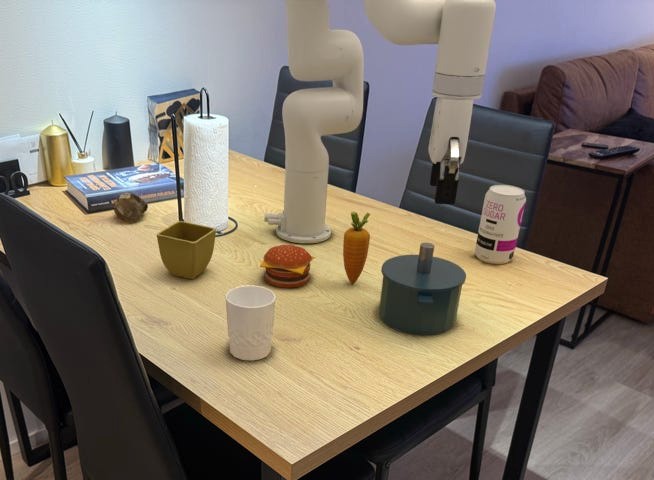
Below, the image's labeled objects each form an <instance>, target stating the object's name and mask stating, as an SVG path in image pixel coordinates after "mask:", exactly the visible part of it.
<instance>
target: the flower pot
mask: <svg viewBox="0 0 654 480" xmlns="http://www.w3.org/2000/svg"><path fill="white" fill-rule="evenodd" d="M216 233H217V228H215V227H211V226H207V225H203V224H198V223H193V222H188V221H182V220H178V221H176V222H174V223H172V224H171V225H169V226H168V227H166V228H164V229H162V230H160V231H159V232H157V233H156V239H157V245H158V250H159V255H160V259H161V261H162V264H163V265H164V267H165V269H166V270H167V271H168V273H170V275H173V276H176V277H180V278H185V279H189V280H194V279H195V278H197V277H198V276H199V275H201V274H202V273H203V272H205V270H206V269H207V267H208V266H209V264H210V262H211V259H212V257H213V255H214V254H213V253H214V249H215V241H216Z"/></svg>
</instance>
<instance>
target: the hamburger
mask: <svg viewBox="0 0 654 480" xmlns="http://www.w3.org/2000/svg"><path fill="white" fill-rule="evenodd" d="M314 259H316V256H313V255H311V254H310V253H309V252H308V251H307V249H306V248H304V247H302V246H300V245H299V246H298V245H295V244H279V245H275V246H273V247H270V248H269V249H268V250H267V251H266V252H265V253H264V255H263V259H262V261H261V263H260V265H259V268H264V269H265V272H264V275H263V276H264V279H265V280H266V282H267V283H268V284H270V285H271V286H273V287H278V288H284V289H285V288H286V289H291V288H299V287H302V286H305V285H307V283H309V282H310V278H311V276H310V275H311V274H310V271H311V262H312V261H313V260H314Z"/></svg>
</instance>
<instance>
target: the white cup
mask: <svg viewBox="0 0 654 480" xmlns="http://www.w3.org/2000/svg"><path fill="white" fill-rule="evenodd" d="M276 299H277V296H276V293H275V292H274V291H273V290H271V289H269V288H268V287H264V286H258V285H248V284H247V285H239V286H236V287H233V288H231V289H229V290H228V291H227V292H226V293H225V309H226V323H227V337H228V341H229V353H230V354H231V355H232V356H233V357H234V358H237V359H239V360H242V361H250V362H252V361H259V360H262V359H264V358H267V357H268V355H269V354H270V353H271V348H272V338H273V333H274V323H275V310H276Z"/></svg>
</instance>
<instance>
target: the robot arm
mask: <svg viewBox="0 0 654 480" xmlns="http://www.w3.org/2000/svg"><path fill="white" fill-rule="evenodd" d="M284 1H285V7H286V8H285V9H286V36H287V37H286V38H287V39H286V40H287V42H286V43H287V62H288V69H289V73H290V75H291V77H292V78H293V79H295V80H297V81H300V82H324V81H332V86H328V87H310V88H301V89H298V90H295V91H293V92H291V93H290V94H289V95H287V96H286V97H285V98H284V101H283V102H282V103H283V104H282V110H281V111H282V112H281V114H282V123H283V131H284V138H285V139H284V141H285V156H284V157H285V161H284V165H285V166H284V191H283V192H284V195H283V210H282V212H278V214H275V213H266V212H264V219H263V221H264V222H265V223H267V225H268V226H269V225H270V226H276V228H275V229H276V231H275V233H276V236H277V237H279V238H280V239H282V240H283V241H285V242H290V243H293V244H317V243H323V242H324V241H326V240H328V239H329V238H331V236H332V229H331V227H329V226H328V225H327V224H326V212H327V199H328V198H327V197H328V196H327V195H328V182H329V171H330V170H329V169H330V168H329V167H330V158H329V152H328V150H327V148H326V146H325V145H324V143H323V141H322V137H325V136H331V135H339V134H340V135H341V134H347V133H350V132H353V131H355V130H356V129H357V128H358V127H359V126H360V124H361V121H362V118H363V112H364V81H365V80H364V77H365V75H364V74H365V73H364V69H365V65H364V64H365V61H364V57H365V56H364V49H363V45H362V42H361V41H360V38H359V37H358V35H357V34H356V33H355V32H353V31H352V30H349V29H348V30H347V29H331V27H330V6H329V1H328V0H284ZM362 5H363V9H364V13H365V15H366V17H367V19H368V22H370V23H371V24H372V26H373V27H374V28H375V30H377V32H378V33H379V34H380V35H381V36H382V37H383V38H384V39H385V40H386V41H389V43H392V44H394V45H397V46H417V45H419V46H420V45H438V46H437V53H436V59H435V60H436V61H435V67H434V74H433V75H434V76H433V83H432V91H431V96H433V97H436V101H435V106H434V111H433V118H432V125H431V130H430V137H429V141H428V150H427V151H428V155H429V159H430V161H431V162H432V165H431V170H430V171H431V172H430V178H429V185H430V187H436V188H435V196H434V203H435V204H436V205H450V206H453V205H455V204H456V200H457V199H456V198H457V192H458V186H459V177H460V176H459V175H460V166H461V165H462V164H463V163H464V161H465V157H466V152H467V147H468V142H469V141H468V139H469V134H470V129H471V123H472V115H473V108H474V107H473V106H474V100H479V99H481V98H482V95H483V94H482V93H483V89H484V83H485V77H486V73H487V64H488V59H489V54H490V47H491V42H492V35H493V31H494V23H495V17H496V10H497V4H496V1H495V0H362Z"/></svg>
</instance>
